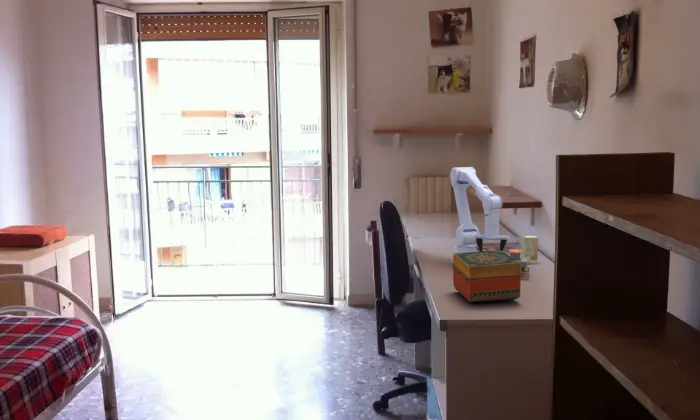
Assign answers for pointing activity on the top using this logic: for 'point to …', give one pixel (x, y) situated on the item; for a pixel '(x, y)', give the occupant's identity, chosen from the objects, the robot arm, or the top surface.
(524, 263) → the cabinet
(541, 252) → the top surface
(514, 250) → the button
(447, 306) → the top surface
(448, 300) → the top surface
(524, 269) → the wooden tray
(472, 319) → the top surface
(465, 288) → the decorative box
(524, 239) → the skincare box
